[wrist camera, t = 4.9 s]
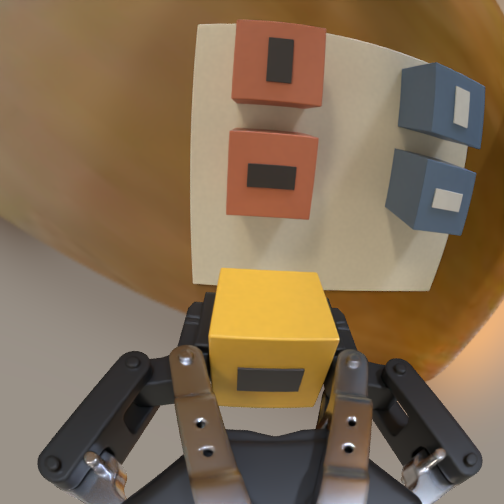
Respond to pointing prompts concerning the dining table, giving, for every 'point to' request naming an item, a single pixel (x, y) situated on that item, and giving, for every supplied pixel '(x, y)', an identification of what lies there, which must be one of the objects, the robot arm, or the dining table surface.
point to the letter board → (326, 174)
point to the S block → (270, 338)
